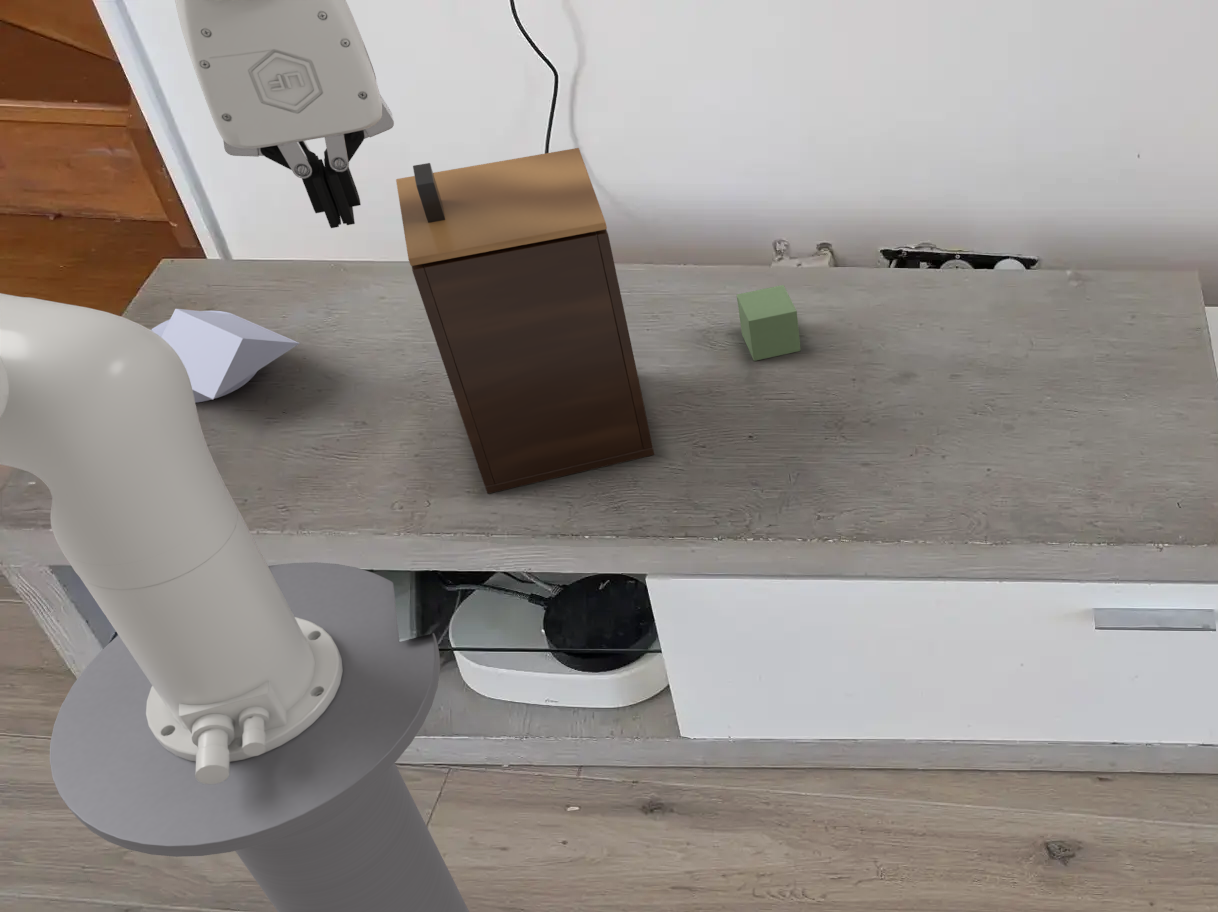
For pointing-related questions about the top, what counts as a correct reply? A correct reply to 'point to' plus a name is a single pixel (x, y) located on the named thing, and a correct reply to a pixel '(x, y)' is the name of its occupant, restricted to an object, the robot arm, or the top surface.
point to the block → (768, 322)
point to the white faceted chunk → (220, 349)
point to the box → (538, 358)
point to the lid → (496, 205)
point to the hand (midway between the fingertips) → (341, 216)
